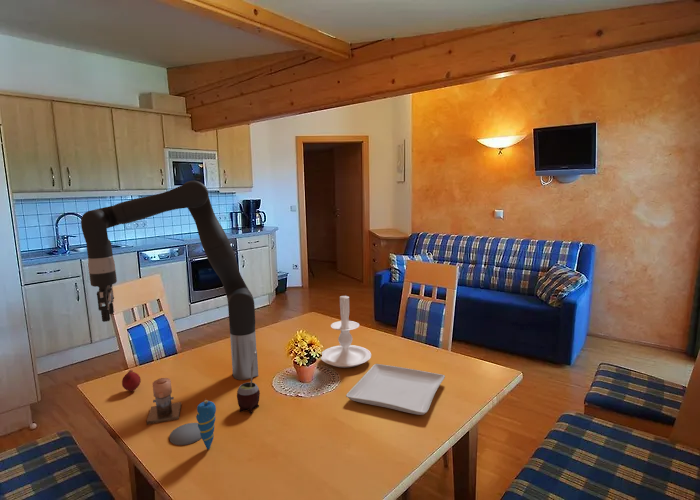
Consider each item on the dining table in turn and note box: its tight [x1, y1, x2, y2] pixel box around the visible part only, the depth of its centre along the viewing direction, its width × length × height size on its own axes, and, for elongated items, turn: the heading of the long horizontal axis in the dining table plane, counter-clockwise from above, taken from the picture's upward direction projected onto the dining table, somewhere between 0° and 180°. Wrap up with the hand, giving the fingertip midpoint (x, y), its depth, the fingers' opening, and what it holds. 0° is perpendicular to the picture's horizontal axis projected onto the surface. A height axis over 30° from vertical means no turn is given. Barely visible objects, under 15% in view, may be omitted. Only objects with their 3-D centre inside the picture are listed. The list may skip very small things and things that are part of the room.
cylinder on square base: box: [146, 393, 182, 425], centre depth 132 cm, size 9×9×7 cm
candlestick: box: [320, 295, 372, 368], centre depth 168 cm, size 21×25×28 cm
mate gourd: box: [236, 358, 261, 415], centre depth 134 cm, size 8×8×15 cm
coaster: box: [169, 422, 202, 446], centre depth 121 cm, size 10×10×1 cm
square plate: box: [345, 363, 446, 416], centre depth 142 cm, size 27×27×4 cm
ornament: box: [195, 398, 217, 450], centre depth 113 cm, size 5×5×15 cm
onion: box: [121, 369, 142, 392], centre depth 147 cm, size 6×6×8 cm
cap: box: [152, 377, 173, 398], centre depth 131 cm, size 5×7×5 cm
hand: (108, 317), depth 140 cm, fingers open, 8 cm apart
